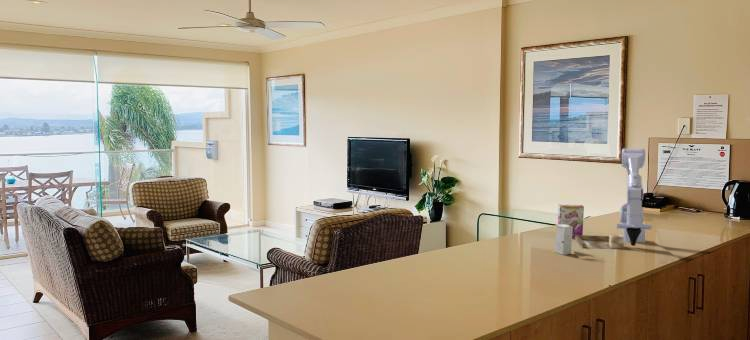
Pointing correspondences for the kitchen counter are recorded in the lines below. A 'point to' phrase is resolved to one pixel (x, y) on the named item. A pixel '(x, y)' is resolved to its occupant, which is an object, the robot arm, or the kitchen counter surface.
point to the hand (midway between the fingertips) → (632, 245)
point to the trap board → (594, 242)
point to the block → (616, 241)
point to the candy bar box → (571, 217)
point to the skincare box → (563, 239)
